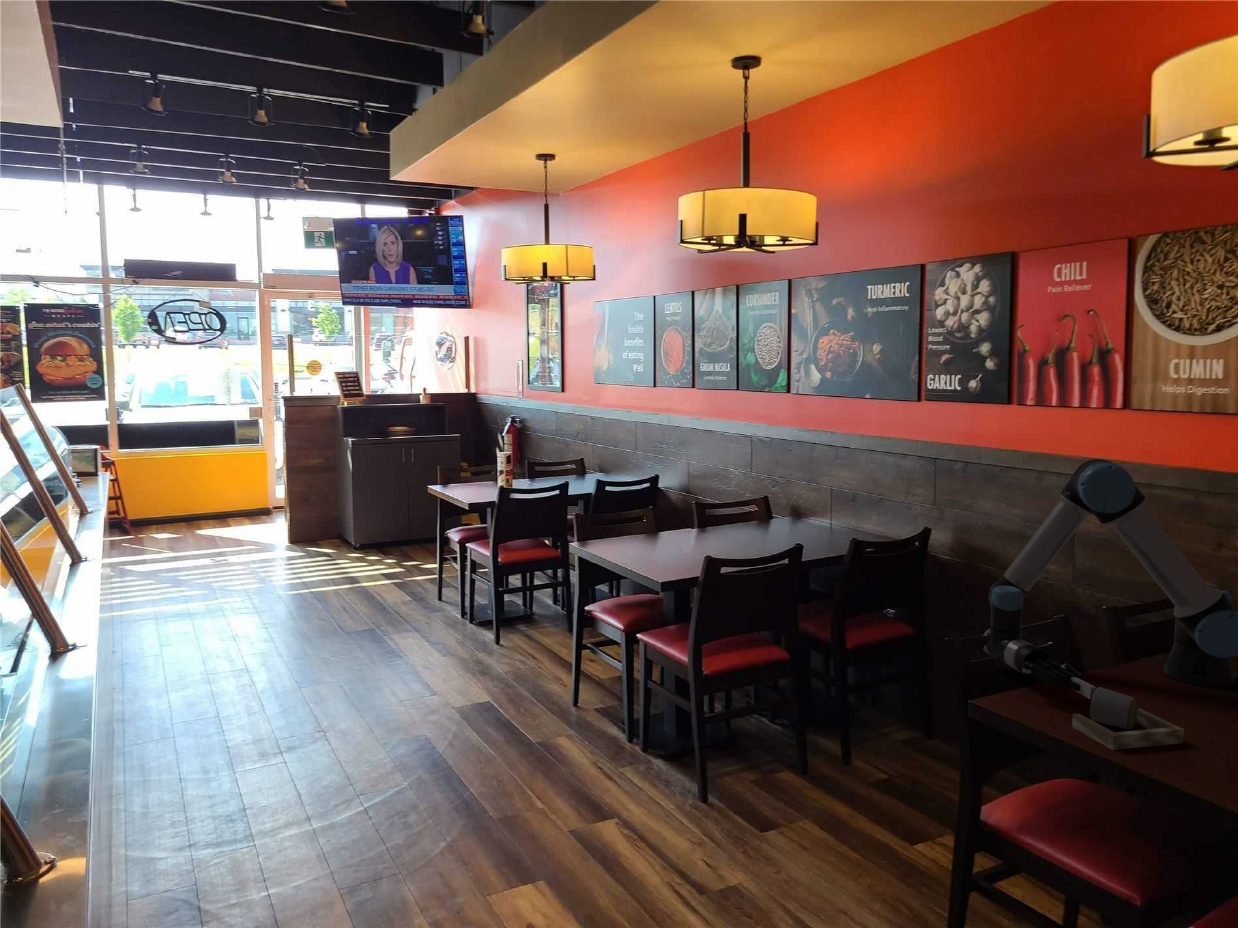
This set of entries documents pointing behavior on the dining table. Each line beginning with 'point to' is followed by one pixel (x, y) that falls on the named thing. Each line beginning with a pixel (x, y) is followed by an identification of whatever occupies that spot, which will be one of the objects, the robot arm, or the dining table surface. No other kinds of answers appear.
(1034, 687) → the dining table surface
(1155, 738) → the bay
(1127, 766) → the dining table surface
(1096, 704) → the ceramic mug
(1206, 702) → the dining table surface
